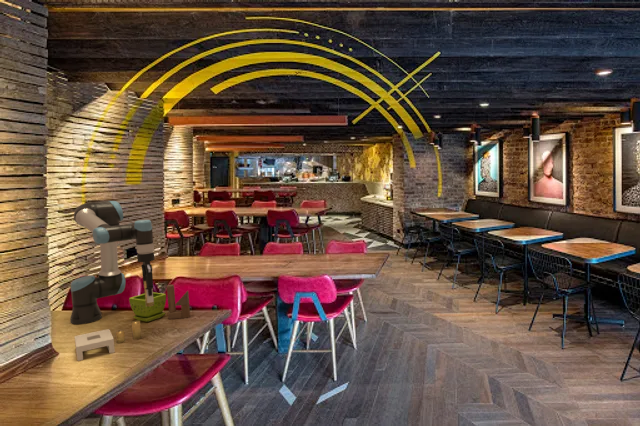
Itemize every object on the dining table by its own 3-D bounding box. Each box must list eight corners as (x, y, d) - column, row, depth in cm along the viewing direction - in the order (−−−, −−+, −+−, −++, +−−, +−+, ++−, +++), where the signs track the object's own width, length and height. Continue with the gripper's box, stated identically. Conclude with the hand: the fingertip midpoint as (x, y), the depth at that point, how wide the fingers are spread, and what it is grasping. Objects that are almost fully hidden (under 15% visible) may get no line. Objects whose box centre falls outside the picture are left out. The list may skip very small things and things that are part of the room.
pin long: (145, 305, 201) (143, 280, 200) (153, 303, 203) (151, 279, 202) (146, 307, 198) (144, 282, 197) (154, 305, 200) (152, 280, 199)
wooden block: (188, 318, 225) (186, 285, 224) (168, 319, 224) (165, 286, 223) (190, 315, 229) (187, 283, 227) (170, 317, 228) (167, 284, 226)
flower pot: (168, 316, 230) (166, 293, 229) (146, 324, 218) (144, 300, 217) (152, 313, 237) (150, 291, 236) (129, 320, 225) (127, 297, 224)
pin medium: (132, 338, 199) (131, 321, 198) (140, 336, 201) (139, 319, 200) (133, 340, 196) (132, 323, 195) (142, 338, 198) (140, 321, 197)
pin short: (116, 341, 195) (115, 331, 195) (124, 339, 197) (123, 329, 197) (117, 344, 192) (116, 333, 192) (125, 342, 194) (124, 331, 194)
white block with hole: (75, 349, 188) (74, 336, 188) (110, 341, 196) (109, 328, 195) (77, 361, 175) (76, 347, 174) (114, 352, 182) (113, 338, 182)
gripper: (134, 251, 204) (138, 299, 206) (140, 256, 190) (144, 306, 192) (150, 249, 208) (154, 296, 210) (157, 253, 194) (161, 303, 196)
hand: (149, 301), depth 201 cm, fingers closed on pin long, 3 cm apart
